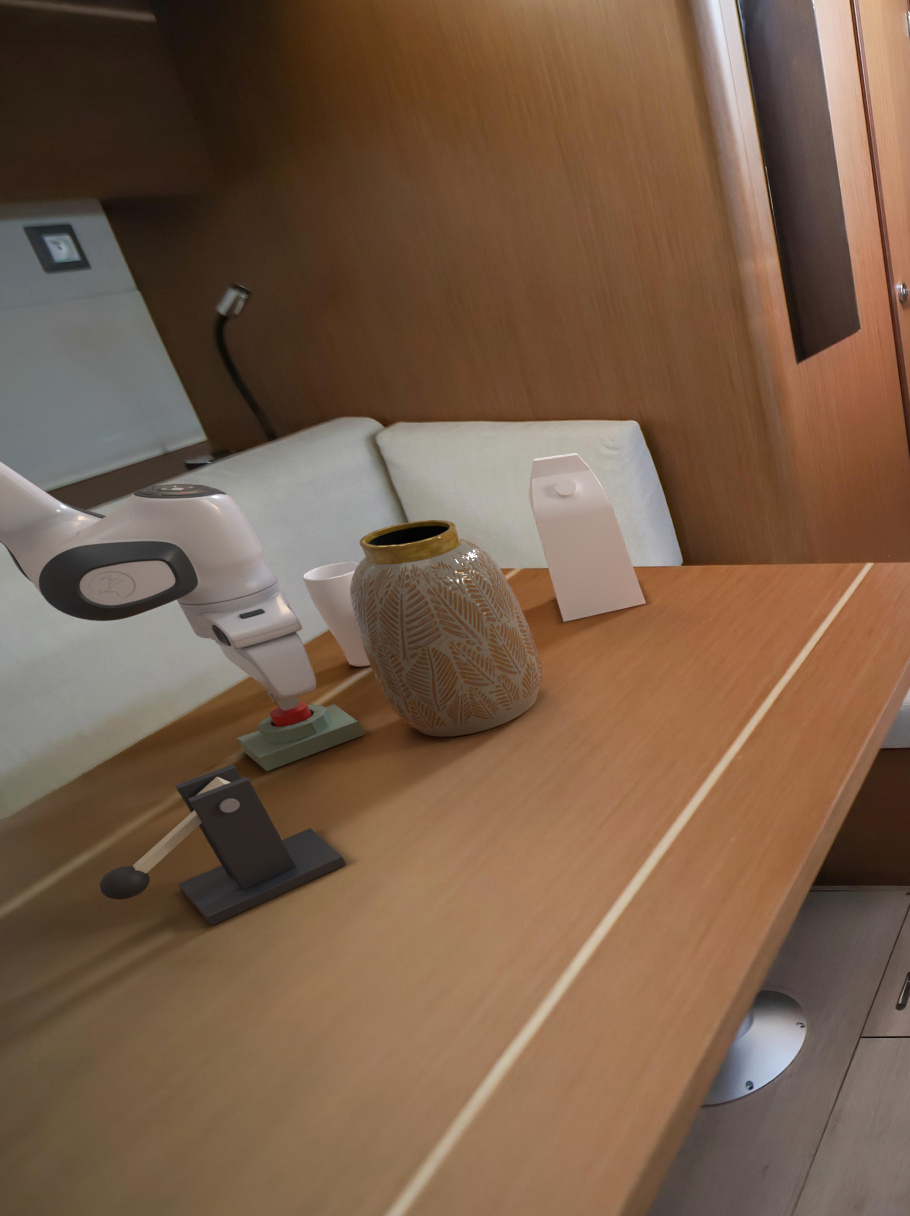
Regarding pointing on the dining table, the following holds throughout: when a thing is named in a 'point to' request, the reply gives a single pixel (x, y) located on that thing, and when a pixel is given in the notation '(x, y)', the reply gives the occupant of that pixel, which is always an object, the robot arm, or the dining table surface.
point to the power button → (290, 715)
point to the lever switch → (150, 857)
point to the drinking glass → (337, 607)
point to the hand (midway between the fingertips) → (287, 705)
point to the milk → (581, 539)
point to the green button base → (299, 737)
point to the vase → (443, 630)
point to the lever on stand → (247, 849)
